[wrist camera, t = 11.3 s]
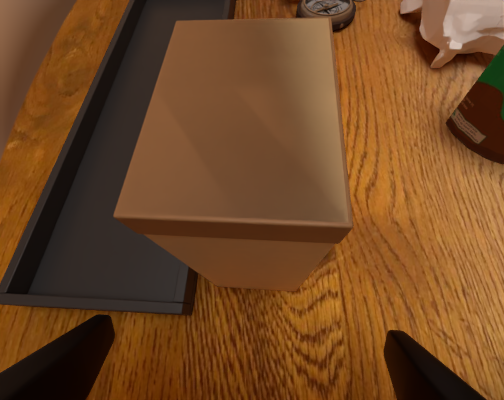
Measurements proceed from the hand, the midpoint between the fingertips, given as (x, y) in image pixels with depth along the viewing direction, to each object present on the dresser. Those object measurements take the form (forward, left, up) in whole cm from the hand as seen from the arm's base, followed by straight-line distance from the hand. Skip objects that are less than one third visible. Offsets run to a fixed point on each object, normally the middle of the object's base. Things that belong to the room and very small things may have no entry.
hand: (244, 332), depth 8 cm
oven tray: (+15, +14, -8) cm, 22 cm away
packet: (+5, +2, -8) cm, 9 cm away
